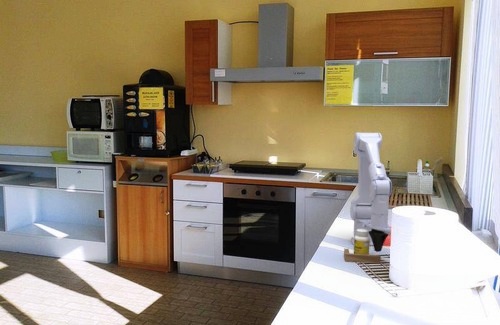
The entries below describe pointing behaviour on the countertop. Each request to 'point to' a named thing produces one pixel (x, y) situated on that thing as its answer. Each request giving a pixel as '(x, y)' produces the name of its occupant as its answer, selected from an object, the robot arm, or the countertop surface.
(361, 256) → the wooden l-shaped block
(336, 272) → the countertop surface
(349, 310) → the countertop surface
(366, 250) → the supplement bottle
